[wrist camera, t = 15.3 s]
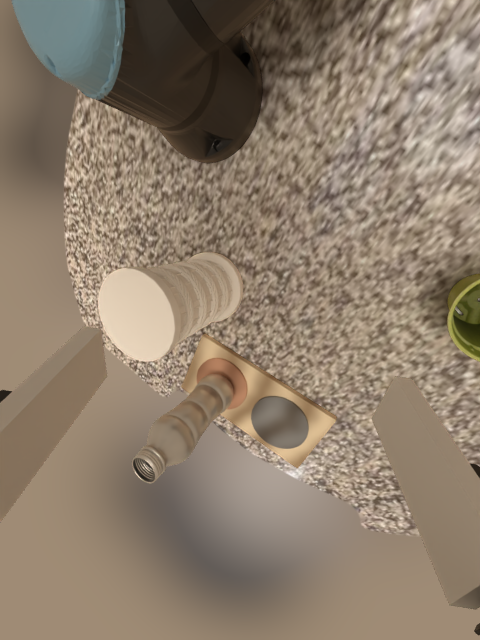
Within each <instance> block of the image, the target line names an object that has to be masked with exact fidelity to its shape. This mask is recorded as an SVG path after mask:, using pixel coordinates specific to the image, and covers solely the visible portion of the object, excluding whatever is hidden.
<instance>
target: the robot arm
mask: <svg viewBox="0 0 480 640" xmlns="http://www.w3.org/2000/svg"><path fill="white" fill-rule="evenodd" d="M274 1H275V0H12V4H13V8H14V11H15V14H16V17H17V19H18V22H19V25H20V27H21V29H22V32H23V34H24V36H25V38H26V40H27V42H28V44H29V45H30V47H31V48H32V50H33V52H34V53H35V54H36V56H37V57H38V58H39V60H40V61H41V63H42V64H43V65H44V66H45V67H46V68H47V69H48V70H49V71H50V72H51V73H53V74H54V75H55V76H57V77H58V78H60V79H61V80H63V81H65V82H67V83H68V84H70V85H72V86H74V87H75V88H77V89H79V90H80V91H81V92H82V93H83V94H85V95H86V96H87V97H90V98H92V99H96V100H98V101H100V102H102V103H105V104H107V105H109V106H111V107H113V108H116V109H118V110H120V111H122V112H124V113H127V114H129V115H131V116H133V117H135V118H138V119H140V120H142V121H144V122H146V123H149V124H151V125H153V126H155V127H157V128H158V129H159V131H160V132H161V133H162V134H163V136H164V137H165V138H166V139H167V140H168V142H169V143H170V144H171V145H172V146H173V147H174V148H175V149H176V150H177V151H178V152H180V153H181V154H182V155H184V156H186V157H188V158H191V159H193V160H196V161H199V162H203V163H213V162H218V161H221V160H224V159H226V158H228V157H229V156H231V155H232V154H234V153H235V152H236V151H237V150H238V149H239V148H240V147H241V146H242V145H243V144H244V143H245V141H246V140H247V139H248V137H249V135H250V134H251V132H252V130H253V128H254V126H255V123H256V121H257V118H258V115H259V111H260V107H261V101H262V76H261V71H260V66H259V63H258V60H257V58H256V55H255V53H254V51H253V50H252V48H251V47H250V45H249V43H248V42H247V40H246V39H245V37H244V36H243V35H242V33H241V32H240V31H241V30H242V29H243V28H244V27H246V26H247V25H248V24H249V23H250V22H251V21H252V20H254V19H255V18H256V17H257V16H258V15H259V14H260V13H262V12H263V11H264V10H265V9H266V8H267V7H268V6H269V5H271V4H272V3H273V2H274ZM106 377H107V370H106V363H105V356H104V348H103V340H102V332H101V329H98V328H91V327H85V326H84V327H83V328H82V329H80V330H79V331H78V332H77V333H76V334H75V335H74V336H73V337H72V338H71V339H70V340H68V341H67V342H66V343H65V344H64V345H63V346H62V347H61V348H60V349H58V350H57V351H56V353H54V354H53V355H52V356H51V357H50V358H49V359H48V360H47V361H45V362H44V363H43V364H42V365H41V366H40V367H39V368H38V369H37V370H36V371H34V373H32V374H31V375H30V376H29V377H28V378H27V379H26V380H25V381H23V383H21V384H20V385H19V386H18V387H17V388H16V389H15V390H14V391H13V392H12V391H6V390H1V391H0V523H1V521H2V520H3V518H4V517H5V516H6V514H7V513H8V512H9V510H10V509H11V507H12V506H13V505H14V503H15V502H16V501H17V499H18V498H19V497H20V495H21V494H22V492H23V491H24V490H25V488H26V487H27V486H28V484H29V483H30V481H31V480H32V479H33V477H34V476H35V475H36V473H37V472H38V470H39V469H40V468H41V466H42V465H43V464H44V462H45V461H46V460H47V458H48V457H49V455H50V454H51V453H52V451H53V450H54V448H55V447H56V446H57V444H58V443H59V442H60V440H61V439H62V438H63V436H64V435H65V433H66V432H67V430H68V429H69V428H70V427H71V425H72V424H73V423H74V421H75V420H76V418H77V417H78V416H79V414H80V413H81V411H82V410H83V409H84V408H85V406H86V405H87V403H88V402H89V401H90V399H91V398H92V396H93V395H94V394H95V392H96V391H97V390H98V388H99V387H100V386H101V384H102V383H103V381H104V380H105V379H106ZM372 421H373V423H374V426H375V428H376V430H377V433H378V435H379V438H380V440H381V442H382V445H383V447H384V450H385V452H386V454H387V457H388V459H389V462H390V464H391V466H392V469H393V471H394V474H395V476H396V478H397V481H398V483H399V486H400V488H401V490H402V493H403V495H404V498H405V500H406V502H407V505H408V507H409V510H410V512H411V514H412V517H413V519H414V522H415V524H416V526H417V529H418V531H419V534H420V536H421V538H422V541H423V543H424V545H425V548H426V550H427V553H428V555H429V558H430V560H431V562H432V565H433V567H434V570H435V572H436V574H437V577H438V579H439V581H440V584H441V586H442V589H443V591H444V593H445V596H446V598H447V601H448V603H449V605H451V606H457V607H463V608H470V609H477V608H479V607H480V467H479V466H478V465H476V464H469V462H468V461H467V459H466V458H465V456H464V455H463V453H462V452H461V450H460V449H459V447H458V446H457V444H456V443H455V441H454V440H453V438H452V437H451V436H450V434H449V433H448V431H447V430H446V428H445V427H444V425H443V424H442V422H441V421H440V419H439V418H438V416H437V415H436V413H435V412H434V410H433V409H432V408H431V406H430V405H429V403H428V402H427V400H426V399H425V397H424V396H423V394H422V393H421V391H420V390H419V388H418V387H417V385H416V384H415V382H414V381H413V380H412V379H409V378H403V377H397V376H395V377H394V379H393V381H392V383H391V384H390V386H389V388H388V390H387V392H386V393H385V395H384V397H383V399H382V401H381V402H380V404H379V406H378V408H377V410H376V411H375V413H374V415H373V417H372ZM474 631H475V633H476V634H478V635H480V623H479V624H478V625H477V626H476V628H475V630H474Z"/></svg>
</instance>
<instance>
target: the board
mask: <svg viewBox="0 0 480 640" xmlns="http://www.w3.org/2000/svg"><path fill="white" fill-rule="evenodd" d="M209 374H219V375H222V376H224V377H225V378H227V379H228V380H229V382H230V383H231V385H232V388H233V392H234V396H233V400H232V402H231V404H230V406H229V407H228V408H227V409H226V410H225V411H224V412H223V413H221V414H220V415H222V416H223V417H224V418H226V419H227V420H229V421H230V422H232V423H233V424H234V425H236V426H237V427H239V428H240V429H242V430H243V431H244V432H246V433H247V434H249V435H250V436H252V437H253V438H255V439H256V440H257V441H259V442H260V443H262V444H263V445H265V446H266V447H267V448H269V449H270V450H272V451H273V452H275V453H276V454H277V455H279V456H280V457H282V458H283V459H285V460H286V461H287V462H289V463H290V464H292V465H293V466H295V467H296V468H298V467H299V466H300V465H301V463H302V462H303V461H304V460H305V459H306V457H307V456H308V455H309V454H310V452H311V451H312V450H313V449H314V447H315V446H316V445H317V444H318V442H319V441H320V440H321V439H322V438H323V436H324V435H325V434H326V433H327V431H328V430H329V429H330V428H331V426H332V425H333V424H334V423H335V421H336V419H337V417H336V416H335V415H333V414H332V413H330V412H329V411H327V410H325V409H324V408H322V407H321V406H319V405H317V404H316V403H314V402H313V401H311V400H310V399H308V398H306V397H305V396H303V395H302V394H300V393H299V392H297V391H295V390H294V389H292V388H291V387H289V386H287V385H286V384H284V383H283V382H281V381H280V380H278V379H276V378H275V377H273V376H272V375H270V374H269V373H267V372H265V371H264V370H262V369H261V368H259V367H257V366H256V365H254V364H253V363H251V362H250V361H248V360H246V359H245V358H243V357H242V356H240V355H238V354H237V353H235V352H234V351H232V350H231V349H229V348H227V347H226V346H224V345H223V344H221V343H220V342H218V341H216V340H215V339H213V338H212V337H210V336H208V335H207V334H203V335H202V337H201V340H200V342H199V345H198V347H197V350H196V352H195V354H194V357H193V359H192V362H191V364H190V367H189V369H188V372H187V374H186V377H185V379H184V382H183V384H182V388H183V389H184V390H186V391H187V392H189V393H191V392H192V391H193V390H194V389H195V387H196V385H197V384H198V383H199V381H200V380H201V379H202V378H203V377H205V376H207V375H209Z"/></svg>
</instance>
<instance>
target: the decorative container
mask: <svg viewBox="0 0 480 640" xmlns="http://www.w3.org/2000/svg"><path fill="white" fill-rule="evenodd" d="M242 298H243V282H242V277H241V275H240V273H239V271H238V269H237V267H236V266H235V265H234V264H233V262H232V261H231V260H229V259H228V258H227V257H225V256H224V255H221V254H219V253H216V252H203V253H199V254H195V255H194V256H192V257H191V258H189V259H188V260H187V261H182V262H181V261H179V262H175V263H174V264H164V265H159V266H157V267H151V268H150V267H147V268H143V267H127V268H122V269H118V270H115V271H113V272H112V273H110V274H109V275H108V276H107V277H106V278H105V280H104V281H103V283H102V285H101V288H100V291H99V297H98V308H99V314H100V318H101V321H102V324H103V327H104V329H105V331H106V333H107V334H108V336H109V338H110V339H111V341H112V342H113V343H114V344H115V345H116V347H117V348H118V349H120V350H121V351H122V352H123V353H124V354H126V355H128V356H129V357H131V358H133V359H136V360H140V361H144V362H145V361H154V360H157V359H159V358H161V357H163V356H164V355H166V354H168V353H169V352H170V351H171V350H172V349H173V348H174V347H175V346H176V344H178V343H180V342H181V341H182V340H184V339H185V338H186V337H188V336H191V335H192V334H194V333H196V332H197V331H198V330H199V329H202V328H204V327H206V326H207V325H208V324H209V323H211V322H218V321H222V320H224V319H226V318H228V317H230V316H231V315H232V314H233V313H235V312H236V311H237V309H238V308H239V306H240V304H241V302H242Z"/></svg>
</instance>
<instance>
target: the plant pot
mask: <svg viewBox="0 0 480 640" xmlns="http://www.w3.org/2000/svg"><path fill="white" fill-rule="evenodd" d="M478 298H480V274H474V275H471V276H468V277H466V278H464V279H462V280H460V281H459V282H458V283H457V284H455V285H454V286H453V288H452V289H451V291H450V293H449V296H448V301H447V303H448V308H449V313H448V318H447V327H448V331H449V334H450V337H451V339H452V340H453V342H454V343H455V345H456V346H457V347H458V348H459V349H460V350H461V351H462V352H463V353H465V354H466V355H467V356H469V357H471V358H473V359H475V360H477V361H479V362H480V302H478ZM456 306H457V307H458V308H459V310H460V311H461V312H462V313H463V315H459V314H458V313H457V311H456V310H455V307H456Z"/></svg>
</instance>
